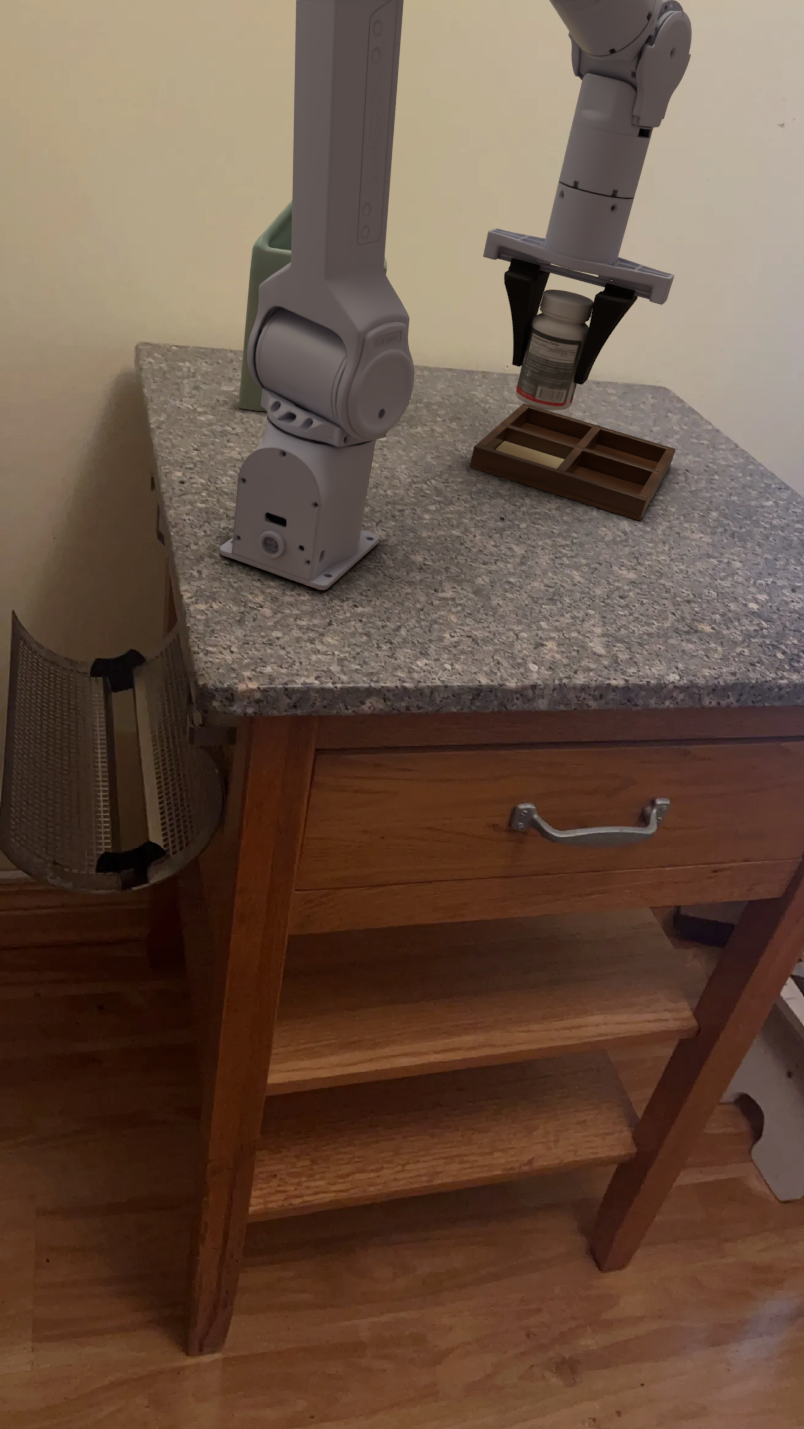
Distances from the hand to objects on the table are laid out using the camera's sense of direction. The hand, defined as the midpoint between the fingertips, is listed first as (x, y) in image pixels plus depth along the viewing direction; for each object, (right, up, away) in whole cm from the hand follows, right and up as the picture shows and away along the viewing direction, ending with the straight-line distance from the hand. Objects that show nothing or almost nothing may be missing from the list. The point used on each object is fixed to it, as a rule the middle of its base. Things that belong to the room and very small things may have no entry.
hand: (550, 372), depth 84 cm
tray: (+4, -5, +10) cm, 12 cm away
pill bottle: (0, -2, +1) cm, 3 cm away
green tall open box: (-19, +1, +12) cm, 23 cm away
